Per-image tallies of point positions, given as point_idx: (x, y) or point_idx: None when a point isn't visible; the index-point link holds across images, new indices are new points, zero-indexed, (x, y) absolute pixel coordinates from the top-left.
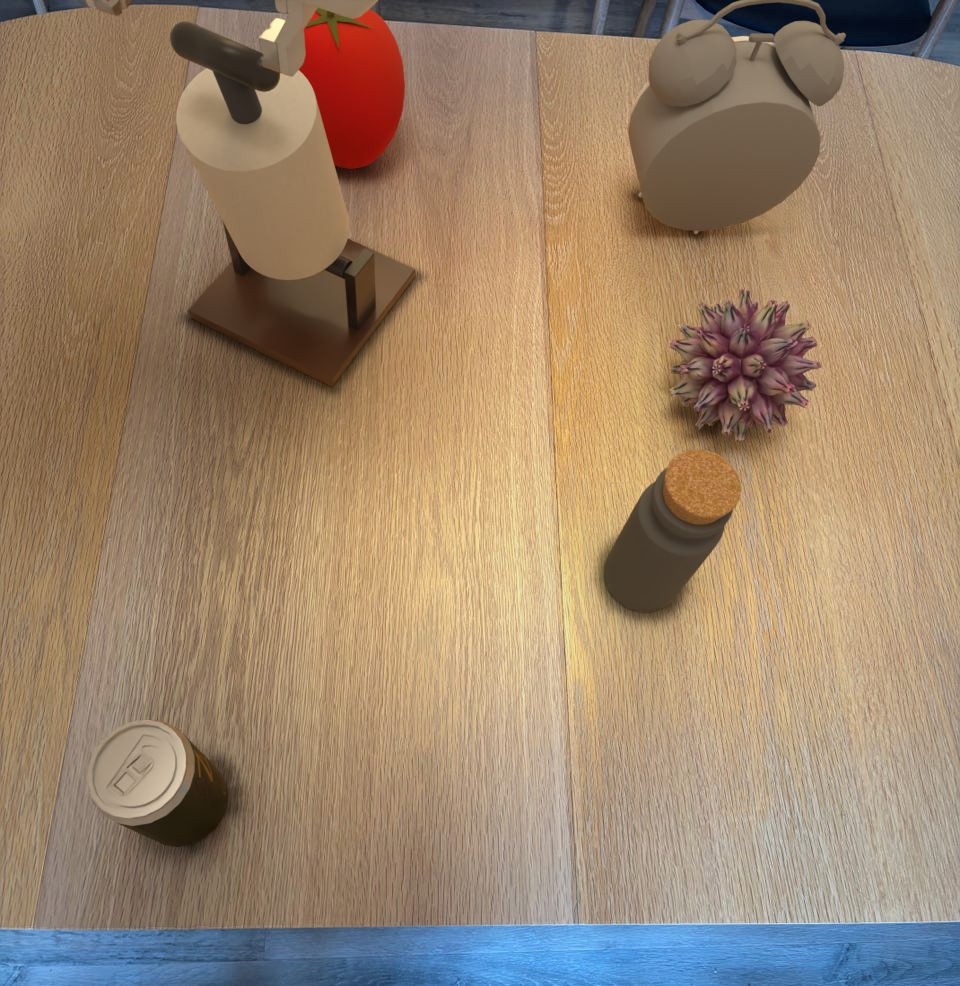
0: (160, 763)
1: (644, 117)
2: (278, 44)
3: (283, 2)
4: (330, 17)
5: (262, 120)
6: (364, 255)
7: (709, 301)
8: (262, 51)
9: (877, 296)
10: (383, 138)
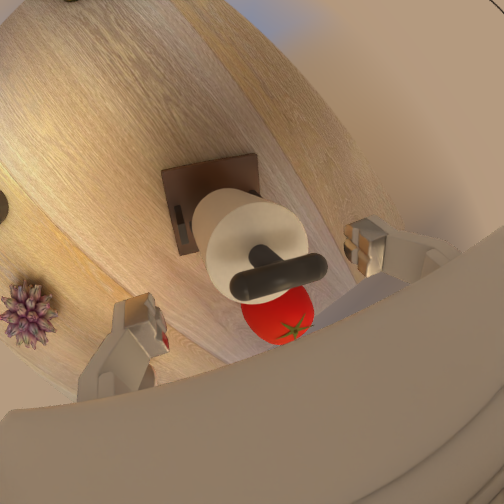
0: None
1: (143, 382)
2: (122, 328)
3: (103, 388)
4: (294, 330)
5: (244, 258)
6: (184, 239)
7: (79, 330)
8: (144, 307)
9: (51, 366)
10: None
